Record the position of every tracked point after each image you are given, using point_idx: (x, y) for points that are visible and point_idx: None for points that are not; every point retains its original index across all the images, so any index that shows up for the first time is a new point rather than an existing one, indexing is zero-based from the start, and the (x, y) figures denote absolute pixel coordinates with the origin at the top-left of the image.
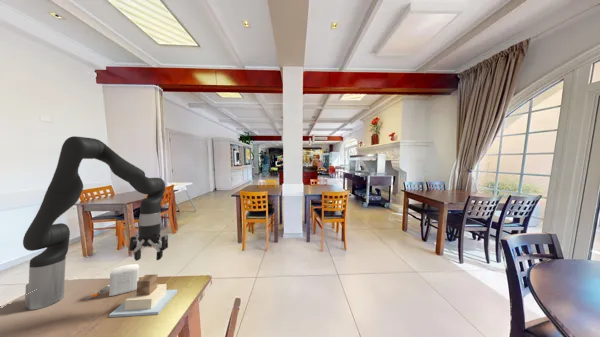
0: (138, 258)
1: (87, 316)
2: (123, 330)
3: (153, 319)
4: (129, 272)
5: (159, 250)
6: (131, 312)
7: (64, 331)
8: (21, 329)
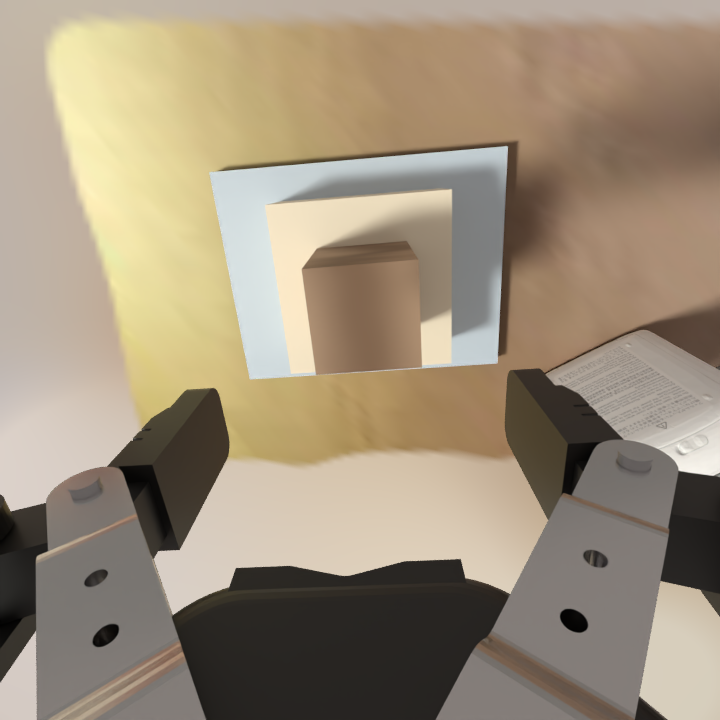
0: (514, 407)
1: (645, 155)
2: (320, 30)
3: (209, 128)
4: (621, 435)
5: (67, 488)
6: (379, 166)
7: (686, 22)
8: None
